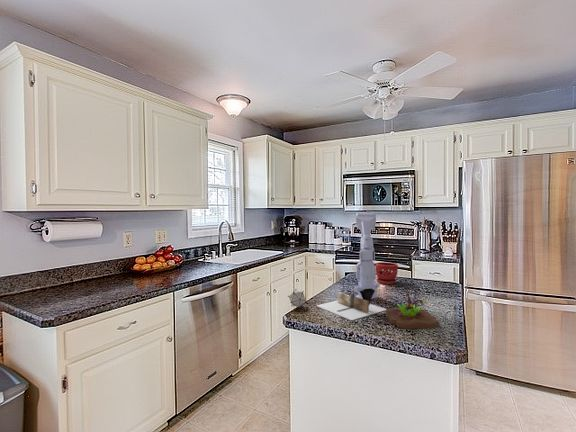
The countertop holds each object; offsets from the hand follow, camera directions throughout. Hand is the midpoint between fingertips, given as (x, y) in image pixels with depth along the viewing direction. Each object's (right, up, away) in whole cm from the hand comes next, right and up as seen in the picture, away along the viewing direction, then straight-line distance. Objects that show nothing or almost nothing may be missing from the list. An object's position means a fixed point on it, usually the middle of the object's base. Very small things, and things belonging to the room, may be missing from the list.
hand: (366, 305), depth 141 cm
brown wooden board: (-3, -2, -1) cm, 3 cm away
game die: (-31, -3, +5) cm, 32 cm away
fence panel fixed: (-8, -2, +7) cm, 11 cm away
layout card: (-7, -2, +3) cm, 8 cm away
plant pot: (+25, -1, +52) cm, 57 cm away
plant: (+15, -3, -11) cm, 19 cm away
